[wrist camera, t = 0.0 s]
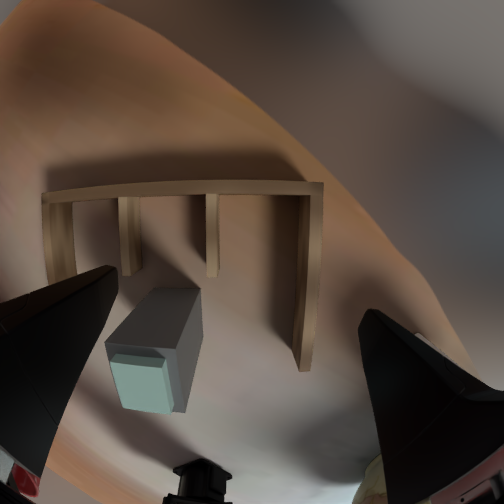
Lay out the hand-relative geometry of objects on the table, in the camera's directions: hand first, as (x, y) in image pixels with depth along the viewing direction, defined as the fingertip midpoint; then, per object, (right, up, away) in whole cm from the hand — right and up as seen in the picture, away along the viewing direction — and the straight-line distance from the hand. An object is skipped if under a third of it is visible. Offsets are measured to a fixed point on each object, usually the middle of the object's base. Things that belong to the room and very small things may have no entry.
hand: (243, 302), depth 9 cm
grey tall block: (-7, -4, +16) cm, 18 cm away
